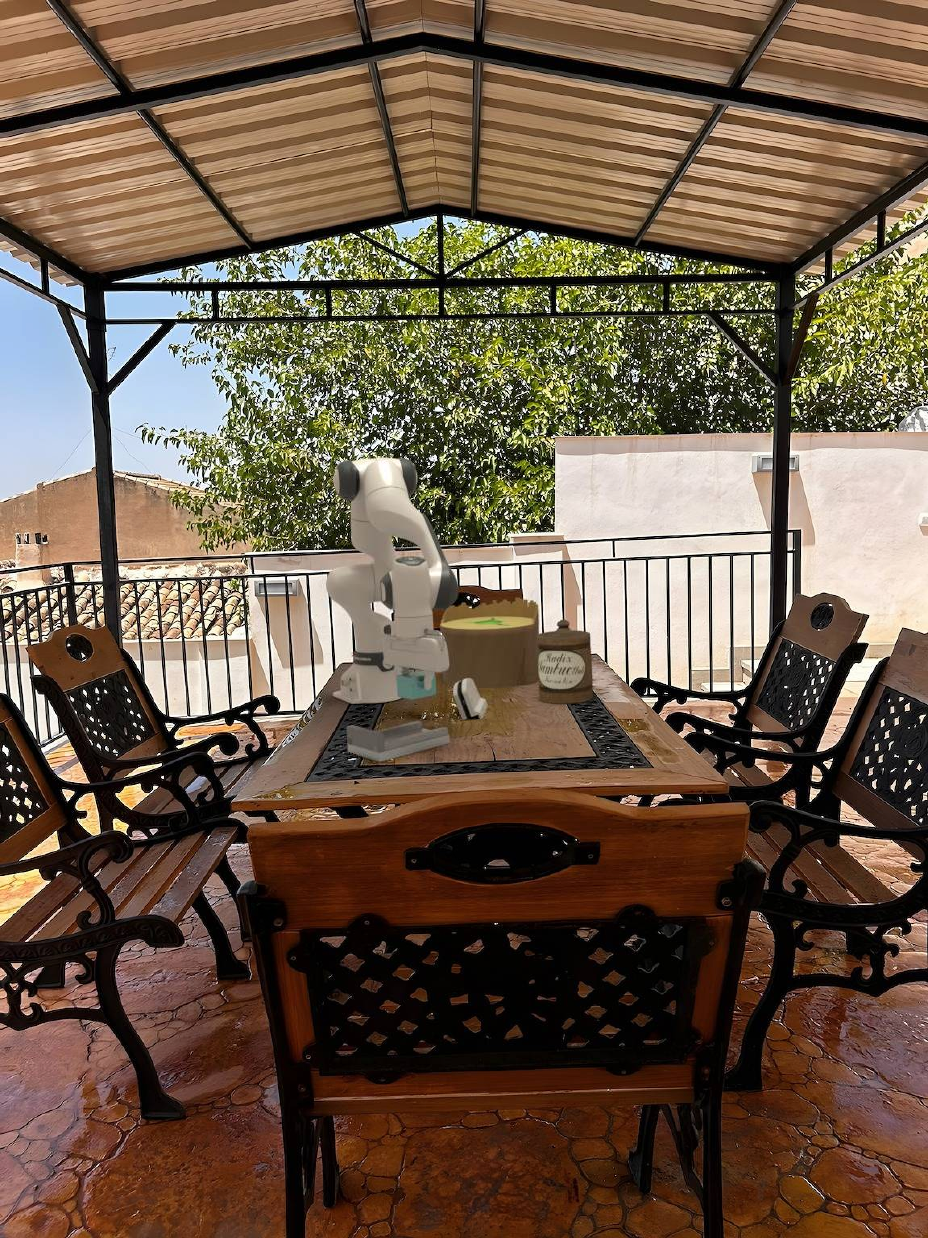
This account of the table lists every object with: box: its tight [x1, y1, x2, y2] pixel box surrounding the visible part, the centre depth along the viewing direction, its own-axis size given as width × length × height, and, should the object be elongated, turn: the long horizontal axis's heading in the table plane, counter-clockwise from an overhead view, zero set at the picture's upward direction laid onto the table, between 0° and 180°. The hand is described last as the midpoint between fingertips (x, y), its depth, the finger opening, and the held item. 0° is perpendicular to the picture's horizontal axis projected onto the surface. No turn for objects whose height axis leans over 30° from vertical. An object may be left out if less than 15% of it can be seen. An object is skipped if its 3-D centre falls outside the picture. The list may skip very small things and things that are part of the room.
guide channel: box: [345, 720, 451, 763], centre depth 204 cm, size 12×20×6 cm, turn 131°
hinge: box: [452, 678, 489, 720], centre depth 237 cm, size 17×5×10 cm, turn 173°
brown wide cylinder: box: [439, 597, 540, 689], centre depth 282 cm, size 32×35×24 cm
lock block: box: [397, 670, 437, 700], centre depth 207 cm, size 6×8×5 cm
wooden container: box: [537, 619, 594, 705], centre depth 248 cm, size 15×15×22 cm
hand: (417, 687), depth 207 cm, fingers closed on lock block, 5 cm apart
